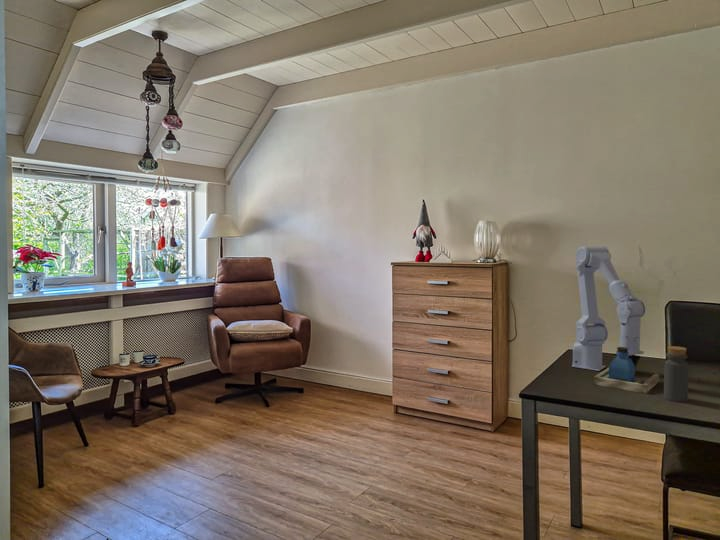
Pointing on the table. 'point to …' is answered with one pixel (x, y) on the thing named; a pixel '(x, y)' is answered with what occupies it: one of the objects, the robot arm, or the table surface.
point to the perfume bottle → (622, 366)
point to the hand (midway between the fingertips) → (628, 377)
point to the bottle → (676, 375)
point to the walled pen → (638, 386)
